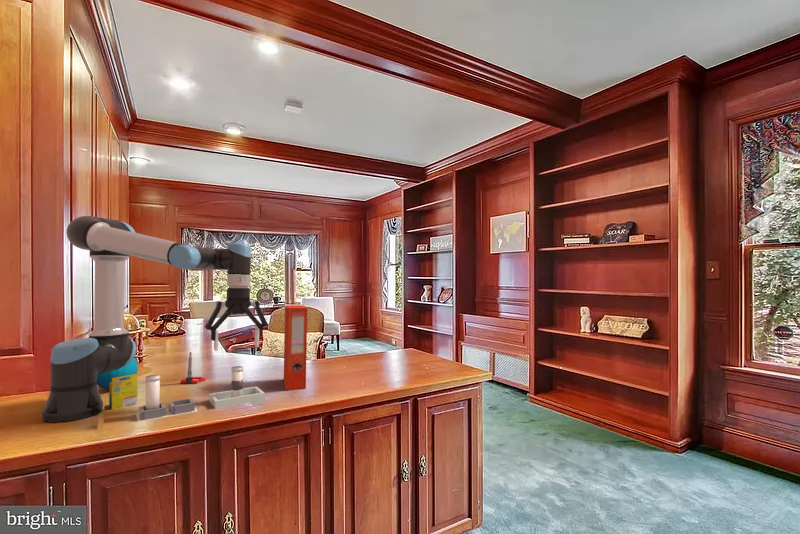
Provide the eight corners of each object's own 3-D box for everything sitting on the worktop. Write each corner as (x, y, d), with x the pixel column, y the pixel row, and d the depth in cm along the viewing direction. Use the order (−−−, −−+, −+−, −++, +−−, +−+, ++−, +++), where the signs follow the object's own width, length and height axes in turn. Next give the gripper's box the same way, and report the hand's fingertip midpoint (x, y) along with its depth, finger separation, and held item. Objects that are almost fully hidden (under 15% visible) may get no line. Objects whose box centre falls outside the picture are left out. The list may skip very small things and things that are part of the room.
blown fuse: (229, 401, 137) (230, 367, 138) (241, 399, 140) (241, 365, 140) (232, 404, 134) (232, 369, 135) (244, 402, 136) (244, 367, 137)
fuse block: (137, 427, 116) (137, 413, 116) (136, 419, 123) (136, 406, 123) (197, 415, 126) (198, 403, 126) (193, 409, 132) (193, 397, 132)
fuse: (145, 418, 119) (146, 378, 119) (144, 414, 122) (145, 375, 122) (160, 415, 121) (160, 376, 122) (159, 412, 124) (159, 374, 125)
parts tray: (215, 413, 128) (215, 401, 128) (208, 405, 136) (209, 393, 136) (264, 403, 138) (264, 392, 138) (256, 396, 146) (256, 386, 146)
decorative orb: (82, 391, 152) (83, 352, 152) (125, 382, 165) (125, 346, 166) (103, 396, 145) (104, 355, 145) (145, 386, 158) (146, 349, 159)
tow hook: (189, 379, 172) (177, 384, 162) (190, 349, 172) (179, 352, 163) (208, 379, 172) (198, 384, 163) (209, 349, 173) (199, 352, 163)
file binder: (302, 378, 173) (303, 304, 173) (306, 388, 156) (307, 307, 157) (283, 379, 170) (284, 305, 171) (285, 390, 154) (286, 308, 154)
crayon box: (134, 406, 134) (135, 372, 135) (137, 408, 132) (138, 373, 133) (108, 412, 129) (109, 376, 129) (111, 414, 127) (112, 378, 127)
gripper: (201, 287, 127) (199, 353, 127) (277, 287, 142) (276, 346, 142) (197, 286, 134) (195, 349, 133) (270, 286, 148) (269, 343, 148)
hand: (236, 348), depth 137 cm, fingers open, 13 cm apart
